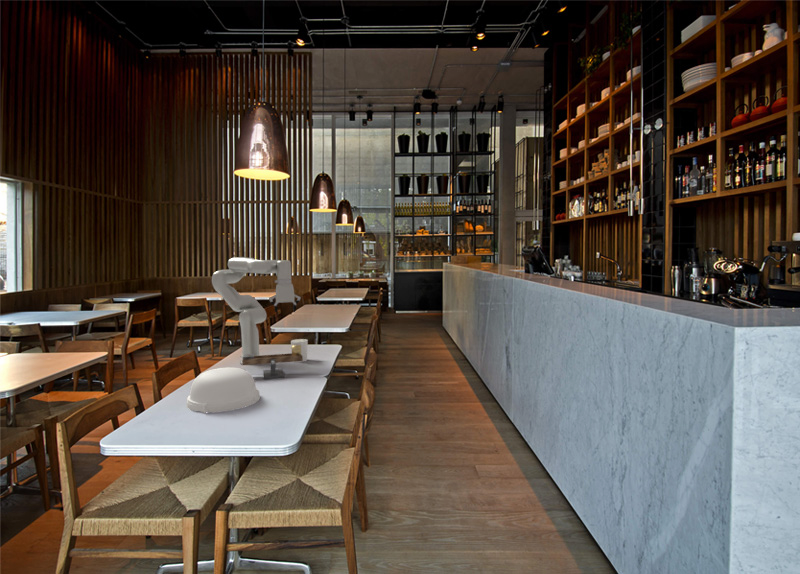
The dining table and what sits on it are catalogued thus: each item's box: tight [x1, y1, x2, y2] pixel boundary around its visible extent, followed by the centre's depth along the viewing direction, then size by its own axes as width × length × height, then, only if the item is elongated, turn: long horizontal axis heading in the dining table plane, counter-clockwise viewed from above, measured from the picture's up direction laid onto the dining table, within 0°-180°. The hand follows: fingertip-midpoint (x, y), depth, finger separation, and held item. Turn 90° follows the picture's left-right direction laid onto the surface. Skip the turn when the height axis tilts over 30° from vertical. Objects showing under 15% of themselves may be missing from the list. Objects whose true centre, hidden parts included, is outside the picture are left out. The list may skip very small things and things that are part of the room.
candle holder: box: [290, 338, 309, 363], centre depth 286 cm, size 10×10×12 cm
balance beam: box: [241, 352, 303, 366], centre depth 253 cm, size 30×8×4 cm, turn 106°
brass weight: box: [291, 345, 301, 356], centre depth 257 cm, size 5×5×6 cm
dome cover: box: [186, 366, 261, 414], centre depth 209 cm, size 32×30×14 cm
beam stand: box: [262, 359, 285, 380], centre depth 253 cm, size 10×15×9 cm, turn 16°
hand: (285, 312), depth 273 cm, fingers open, 9 cm apart
